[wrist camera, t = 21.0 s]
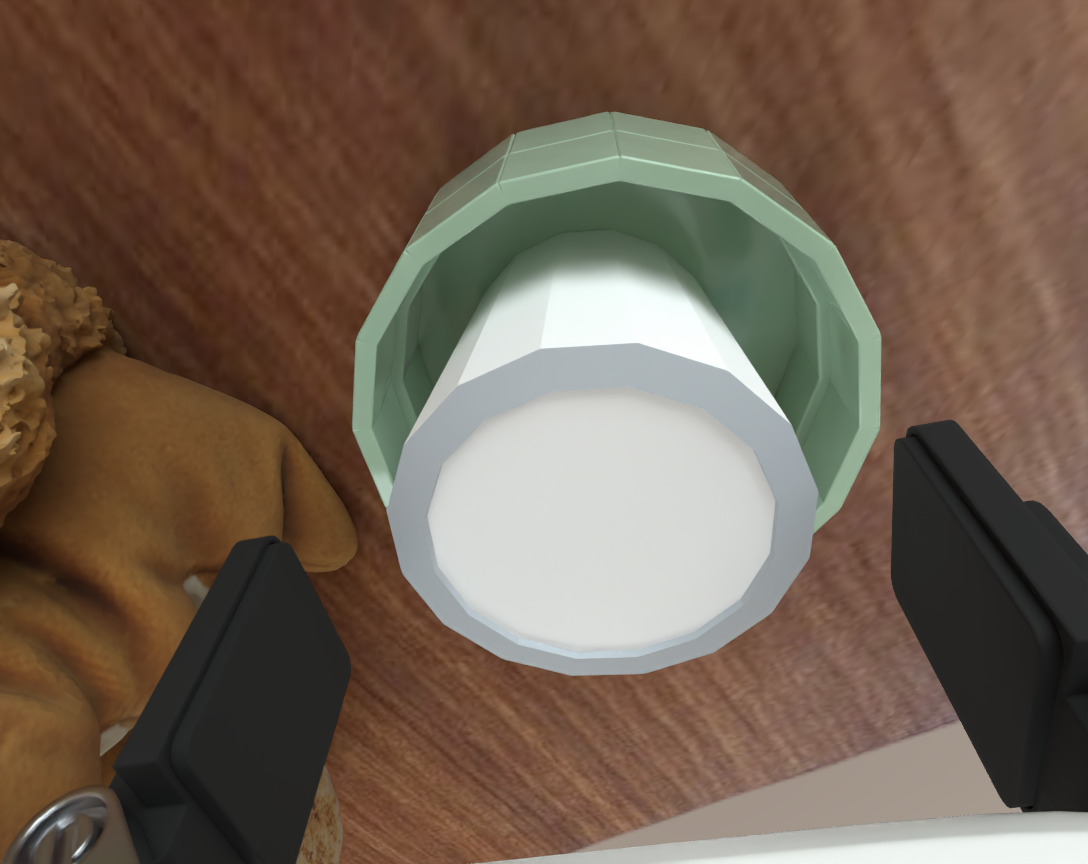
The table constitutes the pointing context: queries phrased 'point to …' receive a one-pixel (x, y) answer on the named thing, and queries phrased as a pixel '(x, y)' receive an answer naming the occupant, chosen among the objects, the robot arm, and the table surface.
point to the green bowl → (652, 215)
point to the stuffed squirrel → (116, 526)
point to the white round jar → (600, 469)
